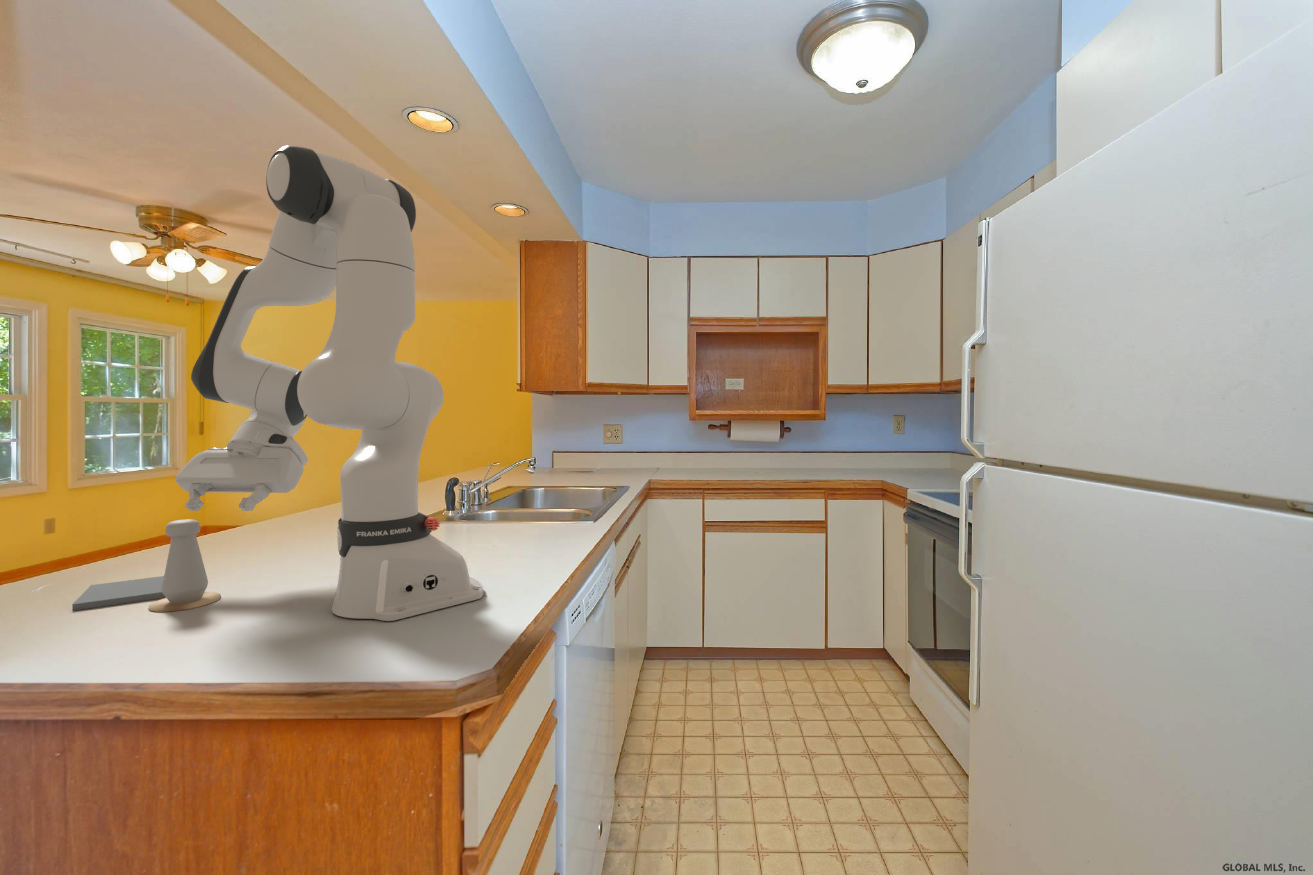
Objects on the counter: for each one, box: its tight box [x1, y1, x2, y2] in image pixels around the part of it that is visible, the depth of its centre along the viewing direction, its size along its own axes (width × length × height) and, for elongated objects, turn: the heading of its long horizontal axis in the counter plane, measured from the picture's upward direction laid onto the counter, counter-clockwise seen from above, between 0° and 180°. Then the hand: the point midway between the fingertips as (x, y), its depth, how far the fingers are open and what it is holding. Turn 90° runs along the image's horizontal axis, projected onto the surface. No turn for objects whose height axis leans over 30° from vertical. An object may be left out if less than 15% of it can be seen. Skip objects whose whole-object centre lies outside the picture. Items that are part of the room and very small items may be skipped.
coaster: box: [148, 591, 222, 613], centre depth 93 cm, size 9×9×1 cm
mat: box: [71, 575, 166, 611], centre depth 97 cm, size 12×12×1 cm
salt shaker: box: [161, 518, 209, 604], centre depth 92 cm, size 6×6×13 cm
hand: (218, 508), depth 99 cm, fingers open, 8 cm apart
